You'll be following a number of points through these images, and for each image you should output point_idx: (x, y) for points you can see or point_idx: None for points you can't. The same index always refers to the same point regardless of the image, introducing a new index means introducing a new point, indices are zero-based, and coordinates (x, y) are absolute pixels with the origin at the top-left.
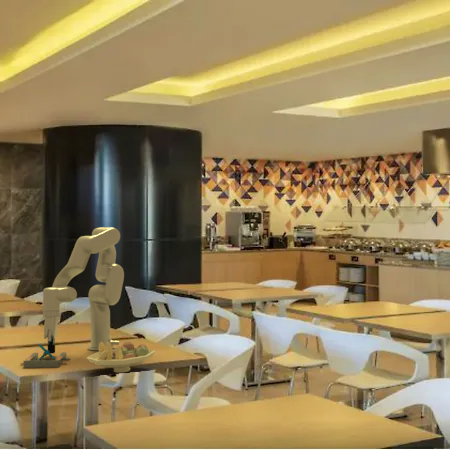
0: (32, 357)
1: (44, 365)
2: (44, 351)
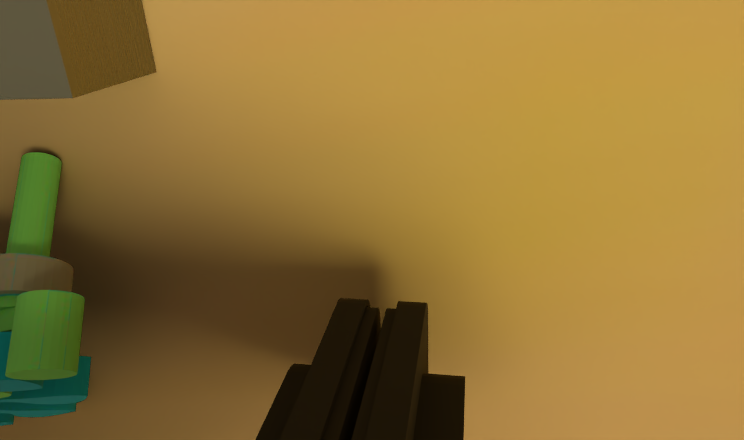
0: None
1: None
2: (22, 300)
